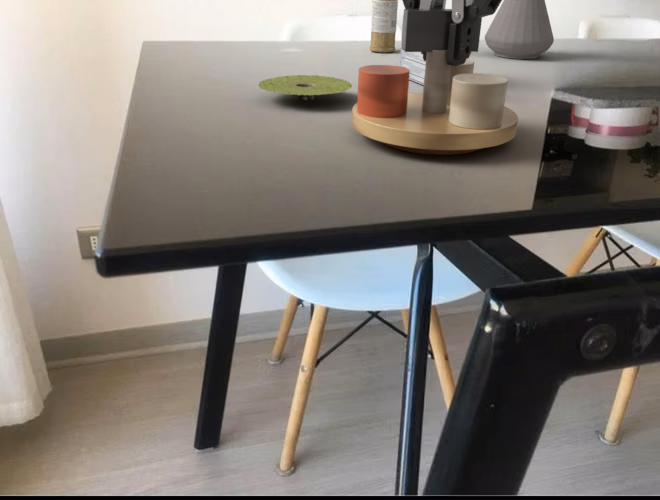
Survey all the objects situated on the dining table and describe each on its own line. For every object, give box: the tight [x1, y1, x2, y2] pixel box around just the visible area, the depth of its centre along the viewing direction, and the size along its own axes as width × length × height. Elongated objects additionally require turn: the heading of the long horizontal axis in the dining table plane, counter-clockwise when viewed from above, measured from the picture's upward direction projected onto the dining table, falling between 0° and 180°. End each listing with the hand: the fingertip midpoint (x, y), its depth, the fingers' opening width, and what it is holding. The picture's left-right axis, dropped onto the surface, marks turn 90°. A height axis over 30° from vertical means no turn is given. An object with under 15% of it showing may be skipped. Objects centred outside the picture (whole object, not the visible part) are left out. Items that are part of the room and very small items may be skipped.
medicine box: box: [399, 13, 426, 86], centre depth 86 cm, size 8×4×9 cm, turn 22°
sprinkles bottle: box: [369, 0, 399, 54], centre depth 108 cm, size 5×5×14 cm
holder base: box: [381, 142, 483, 156], centre depth 63 cm, size 11×11×1 cm
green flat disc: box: [258, 74, 353, 101], centre depth 76 cm, size 11×11×2 cm
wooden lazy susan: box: [351, 8, 519, 150], centre depth 60 cm, size 16×16×11 cm
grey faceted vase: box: [484, 0, 555, 60], centre depth 104 cm, size 21×12×15 cm, turn 65°
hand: (443, 61), depth 60 cm, fingers closed on wooden lazy susan, 2 cm apart
